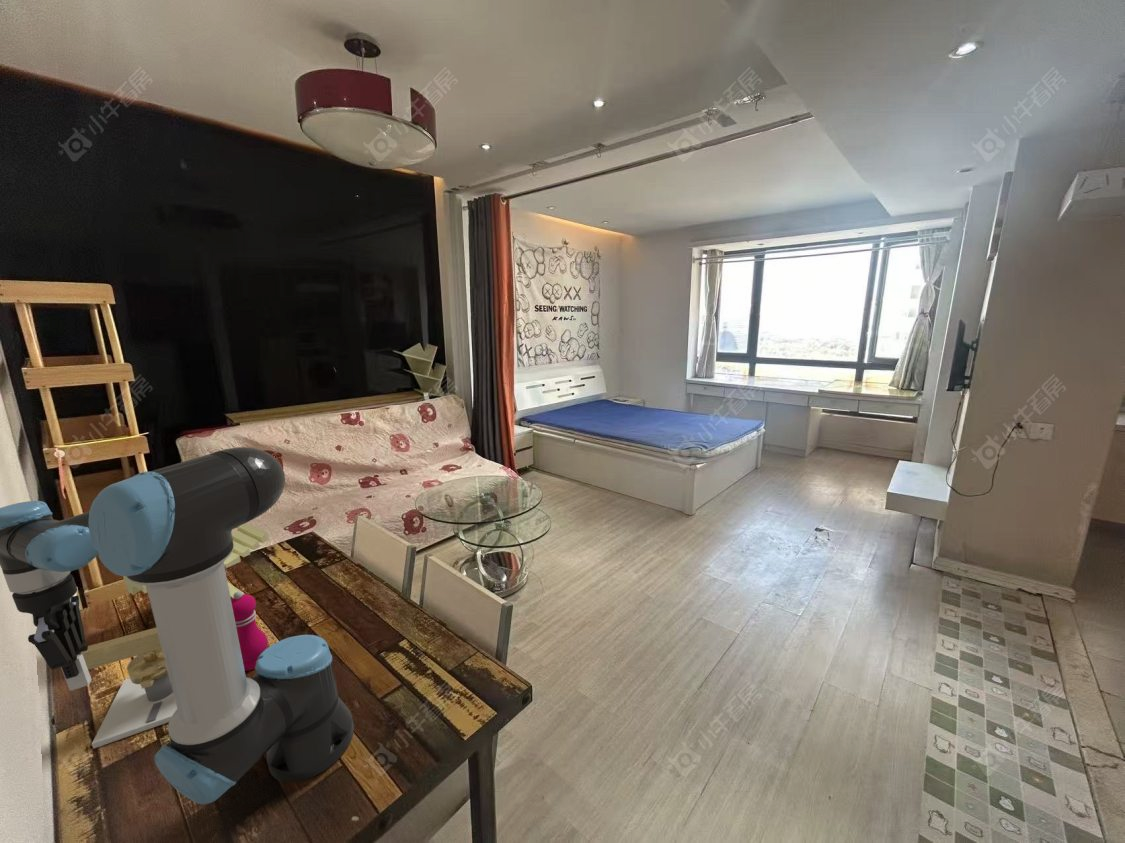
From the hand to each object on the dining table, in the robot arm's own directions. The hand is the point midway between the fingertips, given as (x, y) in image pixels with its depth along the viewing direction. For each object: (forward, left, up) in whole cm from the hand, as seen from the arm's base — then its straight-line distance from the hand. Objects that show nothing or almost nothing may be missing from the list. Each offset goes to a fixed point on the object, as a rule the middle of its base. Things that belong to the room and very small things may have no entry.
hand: (80, 685), depth 88 cm
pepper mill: (+8, -26, -13) cm, 30 cm away
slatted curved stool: (+43, -12, -13) cm, 46 cm away
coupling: (+6, -9, -5) cm, 12 cm away
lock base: (+6, -9, -13) cm, 17 cm away
